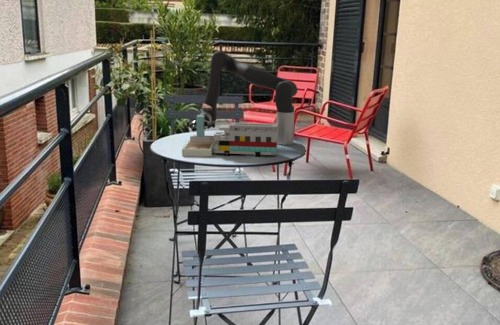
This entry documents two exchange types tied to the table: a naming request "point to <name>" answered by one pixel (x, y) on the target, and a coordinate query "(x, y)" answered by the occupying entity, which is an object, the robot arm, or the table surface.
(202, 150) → the tray
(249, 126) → the toy vehicle
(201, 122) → the tall teal pillar block
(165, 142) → the table surface
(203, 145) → the board
